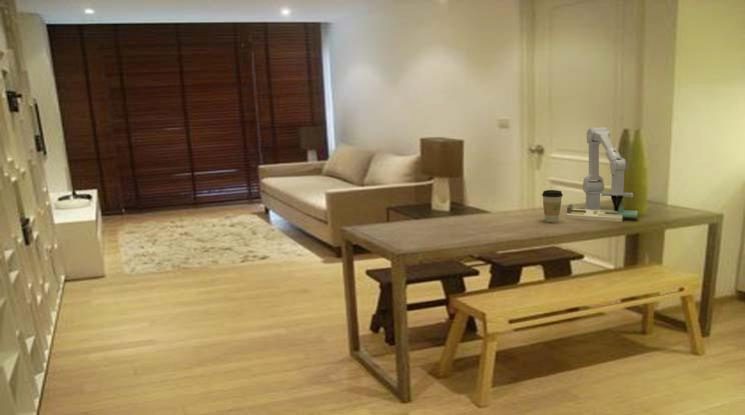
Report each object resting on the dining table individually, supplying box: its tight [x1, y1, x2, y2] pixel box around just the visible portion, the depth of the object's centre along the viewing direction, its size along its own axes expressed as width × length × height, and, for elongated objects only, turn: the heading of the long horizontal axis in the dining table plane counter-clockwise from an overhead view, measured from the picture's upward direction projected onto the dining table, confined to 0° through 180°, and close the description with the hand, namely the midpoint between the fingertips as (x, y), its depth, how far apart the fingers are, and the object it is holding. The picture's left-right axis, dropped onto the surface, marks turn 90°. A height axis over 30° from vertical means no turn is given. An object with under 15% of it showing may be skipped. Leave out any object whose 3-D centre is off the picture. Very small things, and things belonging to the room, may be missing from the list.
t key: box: [566, 203, 586, 214], centre depth 313 cm, size 9×9×3 cm
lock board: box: [565, 208, 624, 223], centre depth 310 cm, size 16×26×3 cm, turn 65°
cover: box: [617, 204, 639, 218], centre depth 302 cm, size 9×9×4 cm
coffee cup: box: [541, 189, 564, 223], centre depth 302 cm, size 10×10×15 cm
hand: (616, 210), depth 304 cm, fingers closed
